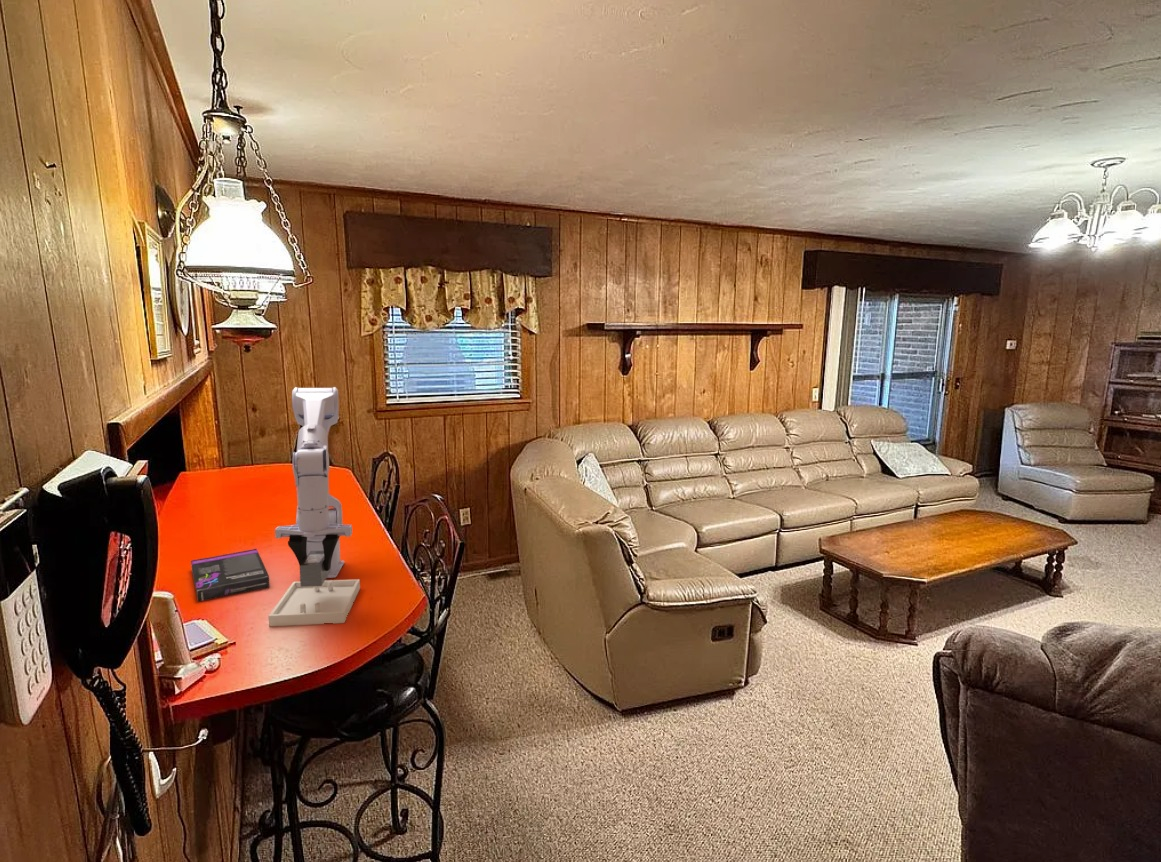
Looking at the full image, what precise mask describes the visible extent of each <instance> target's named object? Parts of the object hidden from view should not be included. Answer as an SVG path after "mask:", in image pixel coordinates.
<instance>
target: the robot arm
mask: <svg viewBox="0 0 1161 862" xmlns="http://www.w3.org/2000/svg"><path fill="white" fill-rule="evenodd" d="M291 402H292V403H291V404H292V412H293V413H294V414H293V415H294V419H295V420H296V424H297V425H300V426H302V427H300V429H299V430H298V433H297V444H296V452H295V451H293V454H292V459H291V460H292V473H293V476H294V484H295V487H296V497H297V501H296V502H297V506H296V516H295V517H296V518H295V524H290V525H279V526H277V527H275V529H274V535H275V539H282V538H288V541H287V545H288V547H289V548H290V550H291V551H292V552H293V554H294V555H295V558H296V560H297V561H298V565H299V566H300V564H301V563H302V562H303V560H304V559H305V558H306V556H307V555H308V554H309V552H310V551H324V567H325V571H329V569H330V567H331V571H330V573H329V575H328V576H327V578H326V579H333V578H335V579H336V577H337V576H338V575H339V573H340V571H341V570H342V567H343V566H344V564H345V560H341V549H340V548H341V546H340V545H341V544H340V543H341V542H340V537H342V536H343V537H345V538H346V537H347V538H349V537H350V538H351V536H352V535H353V525H352V524H344V523H343V509H342V502H341V501H340V500H339V499H338V498H336V497H335V496H333V495H331V494H330V487H329V485H330V484H329V483H330V482H329V473H330V456H329V455H330V453H329V442H328V441H329V439H328V438H329V436H328V435H329V433H330V429H331V426H333V425H335V424H338V420H339V419H340V418H339V417H340V415H339V410H340V401H339V389H338V388H337V387H336V386H333V387H297V386H295V387H294V388H293V389H292V391H291Z"/></svg>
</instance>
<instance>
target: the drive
mask: <svg viewBox="0 0 1161 862" xmlns="http://www.w3.org/2000/svg"><path fill="white" fill-rule="evenodd" d="M330 571H331V567H330V569H329V571H325V567H324V551H310V552H309V554H308V555H307V556H306V558H305V559H304V560H303V562H302V563H301V564H300V565H299V581H300V585H301V587H307V586H322V584H323V583H324V581H327V579H328V578H327V576H328V575H329V573H330Z"/></svg>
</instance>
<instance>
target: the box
mask: <svg viewBox="0 0 1161 862" xmlns="http://www.w3.org/2000/svg"><path fill="white" fill-rule="evenodd" d="M190 565H191V566H190V567H191V573H192V578H193V579H192V580H193V583H194V584H193V585H194V589H195V593H196V594H195V595H196V600H197V602H203V601H204V602H205V601H208V600H212V599H219V598H223V597H228V596H232V595H238V594H243V593H247V592H253V591H258V590H262V588H263V589H267V588H268V587H269V588H270V575H269V573H268V571H267V569H266V566H265V564H264V562H263V560H262V558H261V555H260V553H259V551H258V549H257V548H253V549H248V550H247V549H246V550H243V551H242V550H241V551H237V552H232V553H226V554H222V555H215V556H210V557H204V558H198V559H192V560H191V561H190Z"/></svg>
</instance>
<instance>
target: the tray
mask: <svg viewBox="0 0 1161 862" xmlns="http://www.w3.org/2000/svg"><path fill="white" fill-rule="evenodd" d="M360 582H361V581H360V579H359V578H358V579H333V580H332V579H330V580H327V579H326V580H325V581H324V583H323V584H322V586H307V587H301V585H300V580H299V581H293V582H292V583H291V584H290V586H289V587H288V588H287V590H286V591H285V593H284V594H283V596H282V597H280V600H279V601H278V602H277V603H276V605H275V606H274V607H273V609H272V610H271V612H270V613H269V615H268V627H281V626H282V627H284V626H285V627H286V626H305V625H306V626H308V625H325V624H324V623H333V624H345V622H346V620H347V618H348V616H349V614H350V611H351V609H352V607H353V605H354V603H355V601H356V598H357V596H358V595H359V592H360V589H361V583H360ZM353 602H354V603H353ZM348 613H349V614H348ZM347 615H348V616H347ZM346 617H347V618H346Z"/></svg>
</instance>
